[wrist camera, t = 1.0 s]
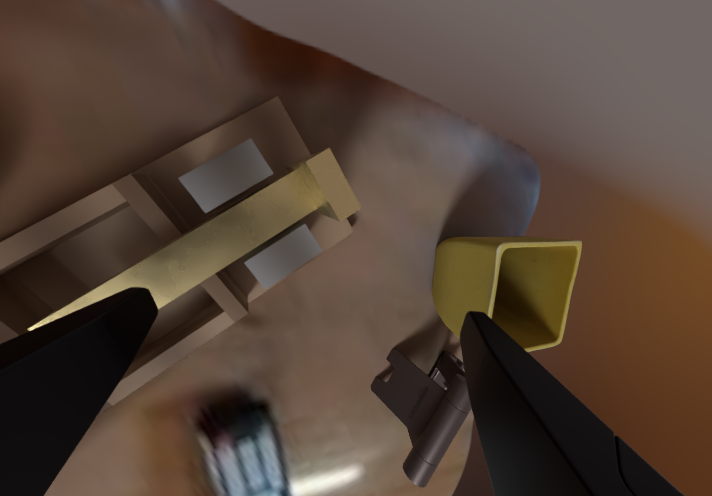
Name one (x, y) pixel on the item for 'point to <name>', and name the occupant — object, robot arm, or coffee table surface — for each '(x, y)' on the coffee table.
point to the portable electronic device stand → (426, 408)
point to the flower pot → (507, 284)
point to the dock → (167, 239)
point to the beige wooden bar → (230, 233)
